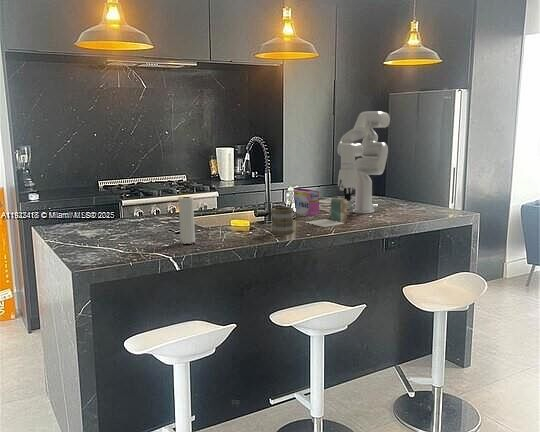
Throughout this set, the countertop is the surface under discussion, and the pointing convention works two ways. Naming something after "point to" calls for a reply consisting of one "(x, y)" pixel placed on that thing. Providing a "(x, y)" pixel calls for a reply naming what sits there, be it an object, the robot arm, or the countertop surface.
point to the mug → (282, 220)
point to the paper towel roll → (186, 219)
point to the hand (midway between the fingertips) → (347, 200)
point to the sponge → (339, 210)
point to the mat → (324, 223)
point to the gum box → (306, 201)
